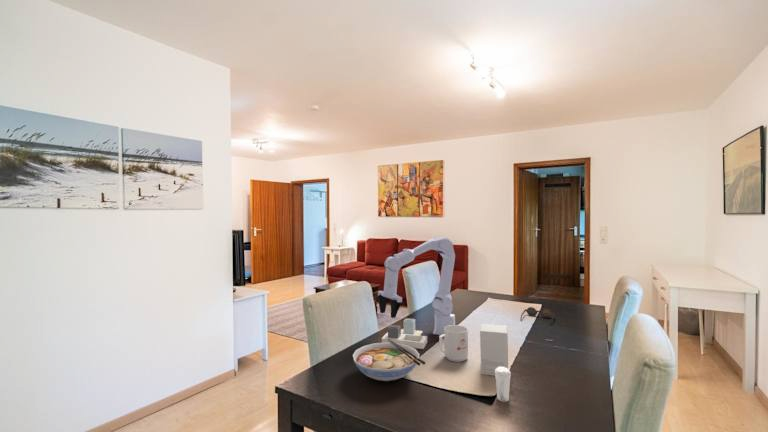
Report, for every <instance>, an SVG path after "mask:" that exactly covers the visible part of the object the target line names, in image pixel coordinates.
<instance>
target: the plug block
mask: <svg viewBox="0 0 768 432" xmlns="http://www.w3.org/2000/svg"><path fill="white" fill-rule="evenodd" d="M402 323H403V325H402V326H403V328H402V329H404V334H410V335H414V334H415V330H416V319H414V318H404V320H403V322H402Z"/></svg>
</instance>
